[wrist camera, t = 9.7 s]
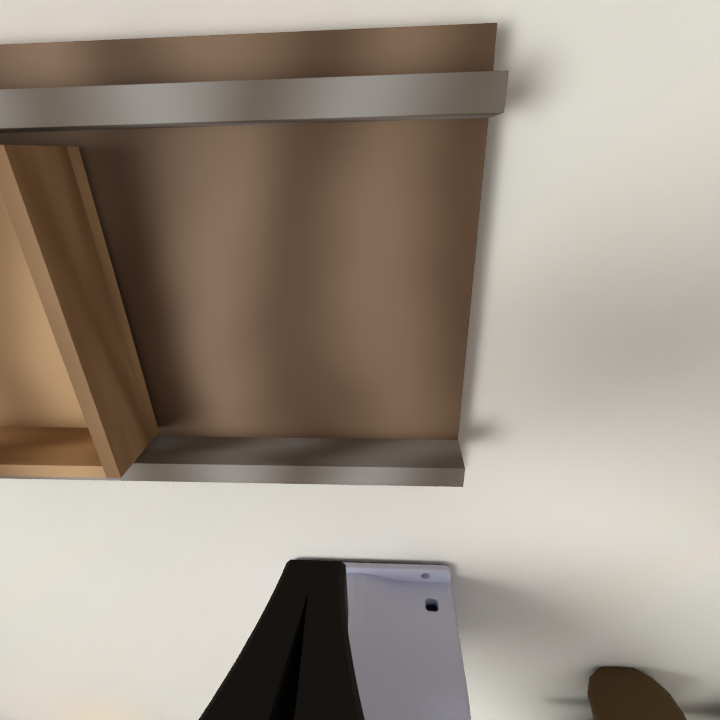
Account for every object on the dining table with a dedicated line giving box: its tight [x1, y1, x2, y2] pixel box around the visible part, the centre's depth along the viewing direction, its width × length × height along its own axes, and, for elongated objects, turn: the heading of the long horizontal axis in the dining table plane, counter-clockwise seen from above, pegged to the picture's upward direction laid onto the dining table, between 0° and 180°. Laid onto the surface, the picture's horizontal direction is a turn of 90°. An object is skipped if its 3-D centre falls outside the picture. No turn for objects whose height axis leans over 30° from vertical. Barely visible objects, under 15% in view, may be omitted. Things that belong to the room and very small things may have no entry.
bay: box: [0, 23, 508, 487], centre depth 16 cm, size 26×18×6 cm
